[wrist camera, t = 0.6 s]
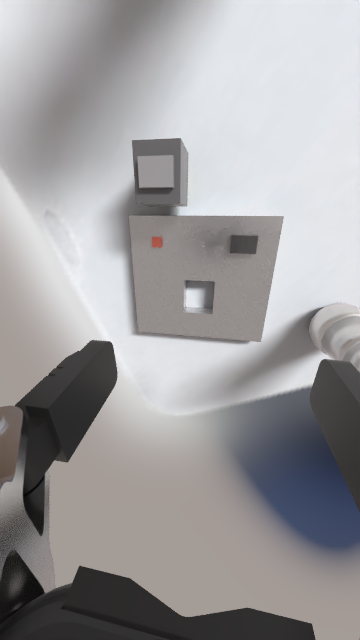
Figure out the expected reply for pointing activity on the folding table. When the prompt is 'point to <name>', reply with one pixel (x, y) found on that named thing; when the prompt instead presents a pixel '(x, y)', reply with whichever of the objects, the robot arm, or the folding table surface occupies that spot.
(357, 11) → the folding table surface
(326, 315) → the plastic bottle
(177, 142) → the plug
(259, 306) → the socket plate
